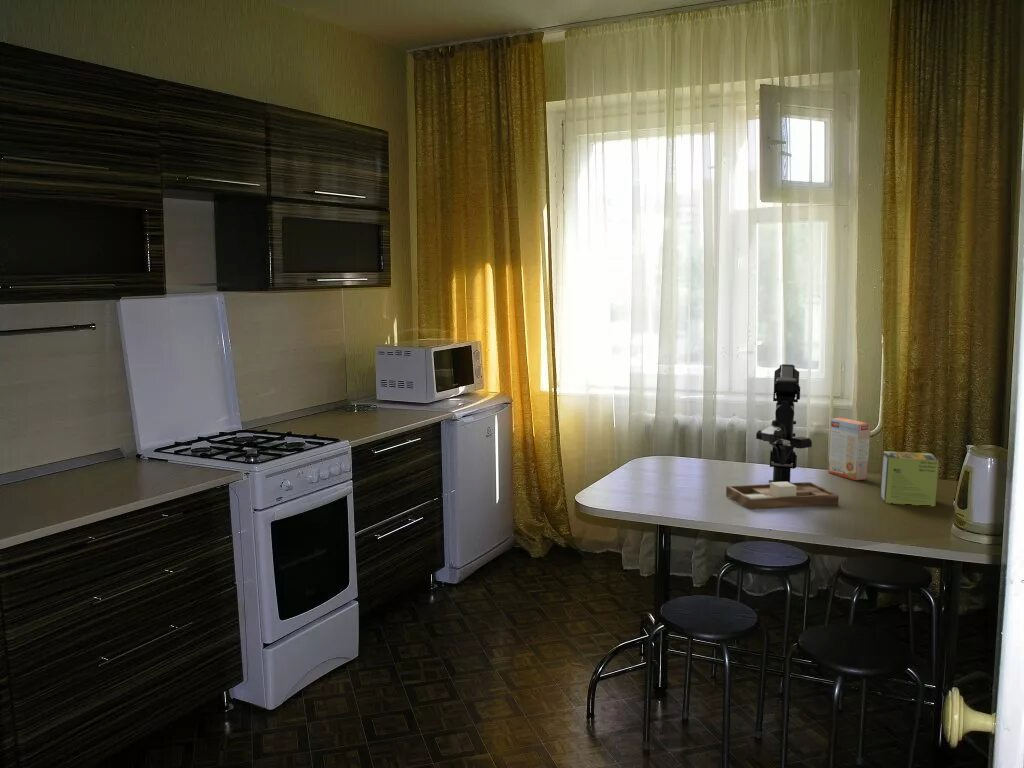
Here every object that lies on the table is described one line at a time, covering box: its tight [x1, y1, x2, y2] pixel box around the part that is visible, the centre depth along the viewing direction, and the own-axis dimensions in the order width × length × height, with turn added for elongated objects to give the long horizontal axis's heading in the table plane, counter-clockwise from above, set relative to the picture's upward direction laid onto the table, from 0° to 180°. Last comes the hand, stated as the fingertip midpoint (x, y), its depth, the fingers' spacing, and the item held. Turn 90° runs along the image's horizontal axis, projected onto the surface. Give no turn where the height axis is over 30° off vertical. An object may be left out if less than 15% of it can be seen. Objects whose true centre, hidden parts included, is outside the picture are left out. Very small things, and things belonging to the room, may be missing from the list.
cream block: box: [769, 482, 797, 497], centre depth 279 cm, size 6×6×4 cm
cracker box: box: [827, 417, 872, 481], centre depth 316 cm, size 14×6×21 cm, turn 22°
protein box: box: [879, 450, 940, 507], centre depth 284 cm, size 10×15×16 cm
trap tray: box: [725, 481, 840, 510], centre depth 284 cm, size 17×31×3 cm, turn 102°
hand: (782, 464), depth 283 cm, fingers closed
